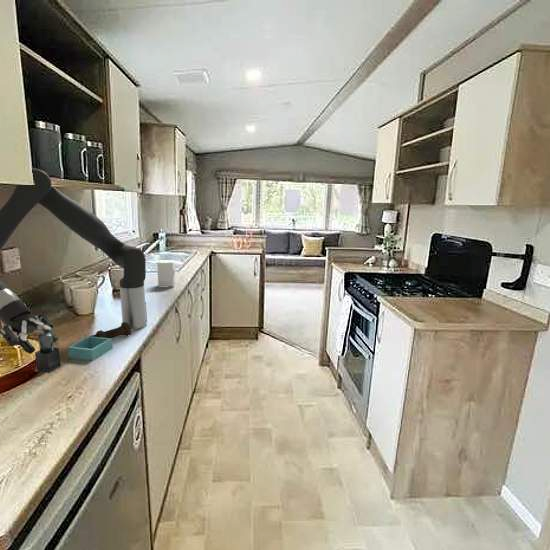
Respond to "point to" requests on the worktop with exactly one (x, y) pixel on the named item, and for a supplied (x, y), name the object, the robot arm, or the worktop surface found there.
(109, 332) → the brown bone toy
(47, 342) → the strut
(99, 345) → the bin
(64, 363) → the stud plate
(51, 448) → the worktop surface
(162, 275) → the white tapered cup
